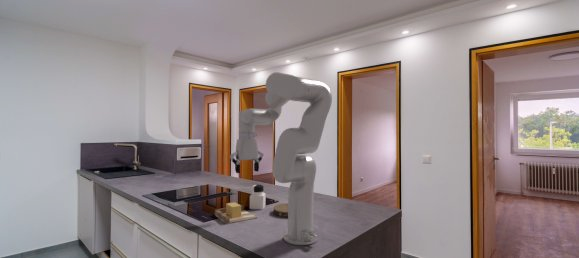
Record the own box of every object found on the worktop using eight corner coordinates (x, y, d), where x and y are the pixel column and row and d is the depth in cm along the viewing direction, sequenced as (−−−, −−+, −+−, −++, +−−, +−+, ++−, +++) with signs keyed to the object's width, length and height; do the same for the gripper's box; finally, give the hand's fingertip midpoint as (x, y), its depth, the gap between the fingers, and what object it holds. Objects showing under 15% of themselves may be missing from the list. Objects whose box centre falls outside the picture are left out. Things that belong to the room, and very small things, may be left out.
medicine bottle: (265, 206, 149) (265, 183, 149) (262, 209, 142) (263, 186, 142) (252, 205, 150) (252, 183, 150) (249, 209, 142) (249, 186, 143)
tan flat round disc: (311, 215, 134) (311, 209, 134) (283, 220, 126) (283, 213, 126) (294, 207, 147) (294, 201, 147) (268, 211, 139) (268, 205, 139)
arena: (257, 218, 128) (257, 212, 128) (226, 224, 119) (226, 218, 119) (242, 209, 141) (242, 205, 141) (214, 214, 133) (214, 209, 133)
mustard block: (234, 212, 135) (234, 202, 135) (241, 216, 129) (241, 205, 129) (226, 213, 132) (226, 203, 132) (232, 217, 126) (232, 207, 126)
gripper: (259, 136, 139) (259, 170, 138) (226, 136, 129) (227, 172, 128) (266, 135, 133) (266, 171, 132) (233, 136, 123) (233, 174, 122)
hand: (247, 172), depth 130 cm, fingers open, 9 cm apart
